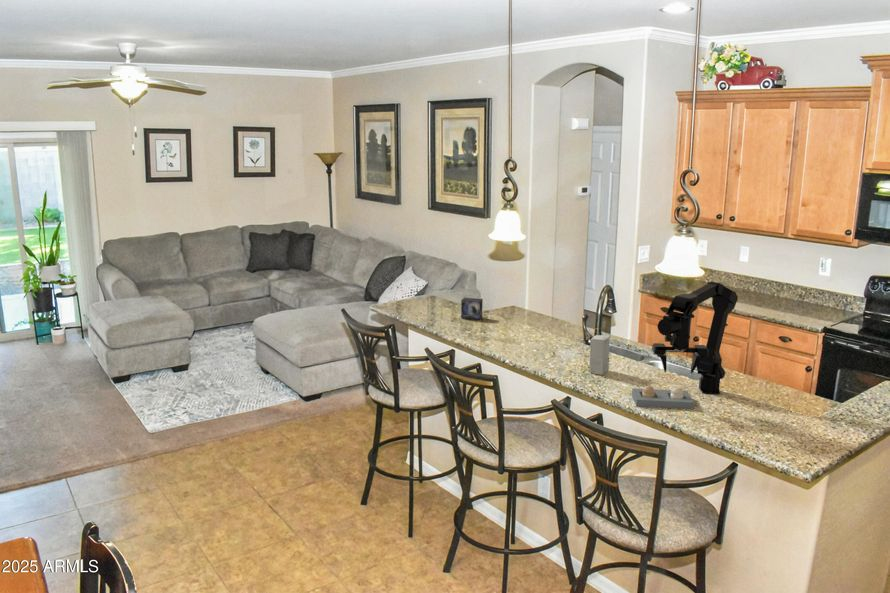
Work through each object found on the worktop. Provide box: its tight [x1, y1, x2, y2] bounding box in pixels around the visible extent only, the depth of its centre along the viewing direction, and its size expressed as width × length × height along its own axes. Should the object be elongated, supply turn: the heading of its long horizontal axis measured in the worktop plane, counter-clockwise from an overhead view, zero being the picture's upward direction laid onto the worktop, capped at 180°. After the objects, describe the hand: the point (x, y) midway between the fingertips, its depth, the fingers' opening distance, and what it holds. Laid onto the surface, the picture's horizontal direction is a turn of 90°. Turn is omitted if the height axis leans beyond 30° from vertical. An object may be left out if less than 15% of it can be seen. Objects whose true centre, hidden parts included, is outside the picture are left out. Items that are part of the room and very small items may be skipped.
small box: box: [460, 297, 483, 321], centre depth 376 cm, size 11×6×10 cm, turn 73°
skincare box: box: [588, 334, 611, 376], centre depth 288 cm, size 8×6×15 cm
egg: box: [670, 386, 684, 399], centre depth 255 cm, size 4×4×6 cm
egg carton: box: [631, 385, 695, 410], centre depth 256 cm, size 20×12×6 cm, turn 83°
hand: (678, 372), depth 253 cm, fingers open, 9 cm apart
